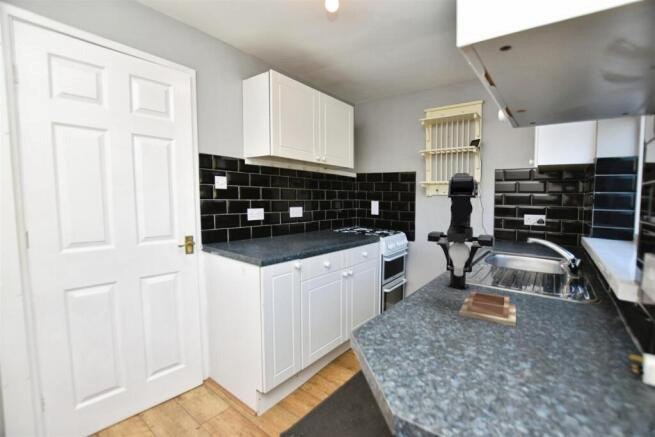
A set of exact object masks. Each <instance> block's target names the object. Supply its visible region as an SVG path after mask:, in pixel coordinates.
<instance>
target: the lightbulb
mask: <svg viewBox="0 0 655 437" xmlns="http://www.w3.org/2000/svg"><path fill="white" fill-rule="evenodd" d="M470 251H471V247H469V245H468V244H466V242H465V243H458V242H456V243H454V242H452V244H450V248H449V251H448V252H449V256H450V258H451V259H452V261H453V265H454V275H456V276H458V277H460V276H462V275H463V267H464V265H465V262H466V261H467V260H468V258H469V257H470Z"/></svg>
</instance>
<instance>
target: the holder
mask: <svg viewBox="0 0 655 437" xmlns="http://www.w3.org/2000/svg"><path fill="white" fill-rule="evenodd" d="M516 307H517V306H516V305H511V304H510V296H504V295H499V294H498V295H497V294H493V293H492V294H491V293H485V292H481V291H480V292H479V291H472V290H471V292H470V294H469V296H468V297H465V299H464V301H463V303H462V306H461V308H460V310H459V316H460V317H465V318H470V319H476V320H480V321H484V322H489V323H494V324H499V325H505V326H510V327H515V328H516V327H517V308H516Z"/></svg>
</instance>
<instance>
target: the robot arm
mask: <svg viewBox="0 0 655 437" xmlns="http://www.w3.org/2000/svg"><path fill="white" fill-rule="evenodd" d="M447 191H448V192H447V198H449V199H450V203H451V204H450V224H449V226H448V228H447V231H446V234H445V232H444V231H434V230H433V231H431V232H428V234H427V242H431V243H436V245H437V246H440V248H441V249H442V251H443V254H444V256H445V260H446V267H445V268H446V269H445V270H446V271H447V272H448V271H449V282H448V284H447V285H446V286H447V287H449V288H454V289H455V288H456V289H462V290H466V289H467V287H468V283H466V282H467V273H469V274H470V273H472V272H473V265H474V264H473V262H474V259H475V256H476V254H477V252H478V251H479V250H481V249H483V247H490V248H491V247H494V246H495V236H494V235H491V234H479V235H478V236H474V228H473V226H471V223H472V221H471V218H472V213H473V209H474V207H473V203H472V201H471V199H476V197H477V196H478V195H479V184H478V182H477V179H474V176H473V175H470V173H468V172H456V173H454V174H453V176H451V178H450V179H449V180H448V190H447ZM456 242H458V243H465V244H466V243H472V244H471V245H470V257H469V258H468V260H467V261H466V262H465V265H464V267H463V275H462V276H460V277H458V276H456V275H454V265H453V261H452V259H451V258H450V256H449V252H448V251H449V248H450V246H451V244H450V243H456Z"/></svg>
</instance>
